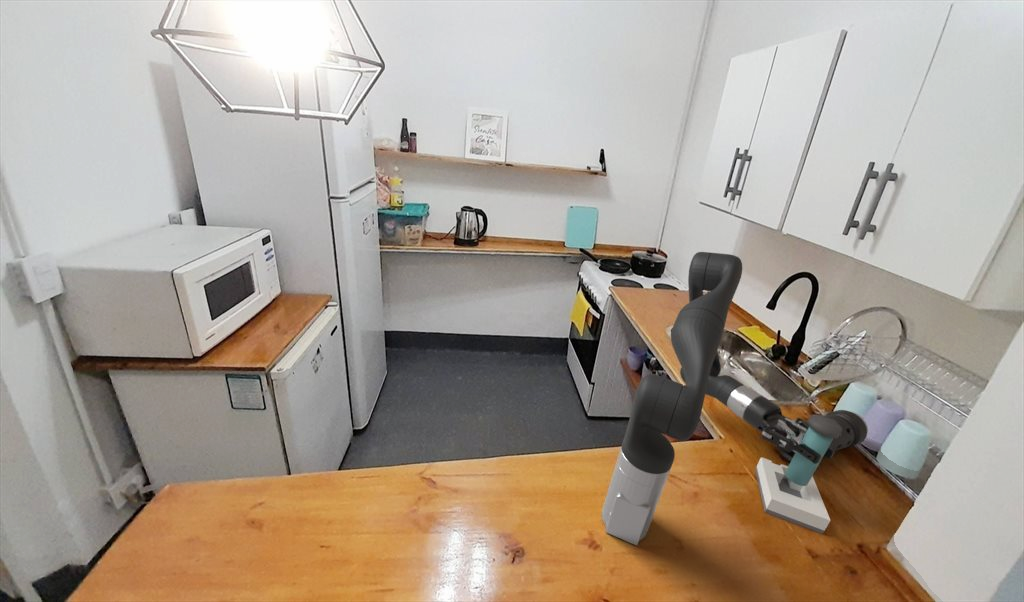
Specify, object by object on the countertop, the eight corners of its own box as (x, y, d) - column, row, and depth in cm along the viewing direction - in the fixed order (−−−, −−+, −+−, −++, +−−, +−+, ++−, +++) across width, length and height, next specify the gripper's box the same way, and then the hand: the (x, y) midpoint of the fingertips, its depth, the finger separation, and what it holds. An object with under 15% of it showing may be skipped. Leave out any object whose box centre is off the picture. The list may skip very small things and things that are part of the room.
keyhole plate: (822, 534, 85) (830, 520, 83) (764, 512, 88) (771, 498, 87) (805, 487, 97) (812, 474, 96) (755, 469, 100) (760, 457, 99)
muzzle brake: (766, 449, 109) (781, 418, 105) (825, 430, 121) (840, 401, 117) (802, 475, 101) (819, 443, 97) (860, 452, 113) (878, 423, 109)
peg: (813, 492, 87) (846, 435, 81) (785, 481, 89) (814, 426, 83) (807, 474, 92) (837, 420, 86) (779, 464, 94) (807, 411, 88)
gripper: (739, 399, 94) (813, 451, 80) (776, 390, 101) (852, 437, 87) (728, 425, 97) (798, 479, 83) (765, 415, 103) (836, 463, 89)
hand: (825, 457), depth 85 cm, fingers closed on peg, 4 cm apart
